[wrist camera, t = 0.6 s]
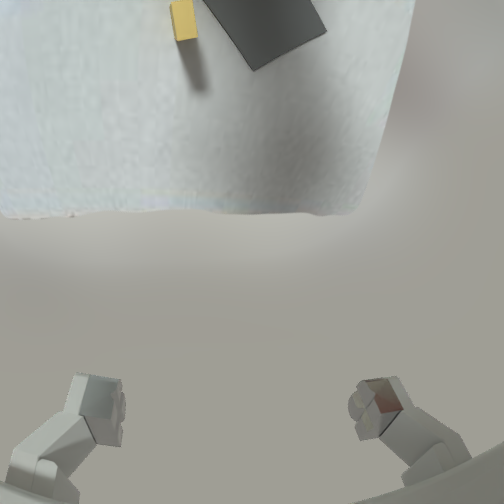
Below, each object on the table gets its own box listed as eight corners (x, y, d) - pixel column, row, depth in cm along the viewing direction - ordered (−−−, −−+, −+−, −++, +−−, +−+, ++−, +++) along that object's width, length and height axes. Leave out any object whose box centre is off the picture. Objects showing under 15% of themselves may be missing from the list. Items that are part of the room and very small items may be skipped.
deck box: (174, 38, 37) (177, 41, 30) (169, 7, 34) (171, 2, 27) (191, 35, 38) (197, 37, 31) (186, 4, 34) (191, -2, 27)
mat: (199, -6, 34) (199, -6, 33) (280, -45, 31) (281, -45, 31) (252, 70, 44) (253, 70, 43) (325, 31, 41) (326, 31, 41)
